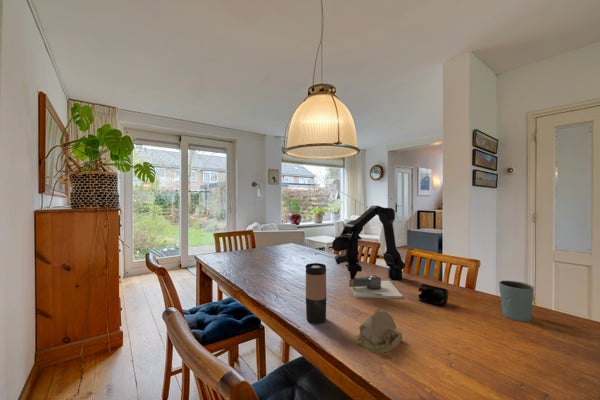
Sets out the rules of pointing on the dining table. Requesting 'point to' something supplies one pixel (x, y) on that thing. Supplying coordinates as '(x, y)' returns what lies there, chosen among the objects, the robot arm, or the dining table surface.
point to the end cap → (433, 295)
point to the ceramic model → (379, 333)
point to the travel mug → (316, 293)
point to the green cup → (516, 300)
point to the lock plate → (377, 291)
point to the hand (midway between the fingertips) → (352, 280)
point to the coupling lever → (366, 282)
